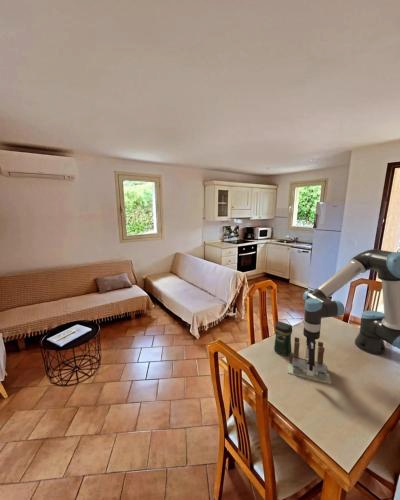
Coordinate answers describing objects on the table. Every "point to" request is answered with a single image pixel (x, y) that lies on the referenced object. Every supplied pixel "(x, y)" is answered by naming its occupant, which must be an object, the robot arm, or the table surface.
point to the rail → (303, 365)
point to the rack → (296, 355)
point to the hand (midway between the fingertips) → (309, 366)
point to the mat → (303, 373)
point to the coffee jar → (283, 338)
